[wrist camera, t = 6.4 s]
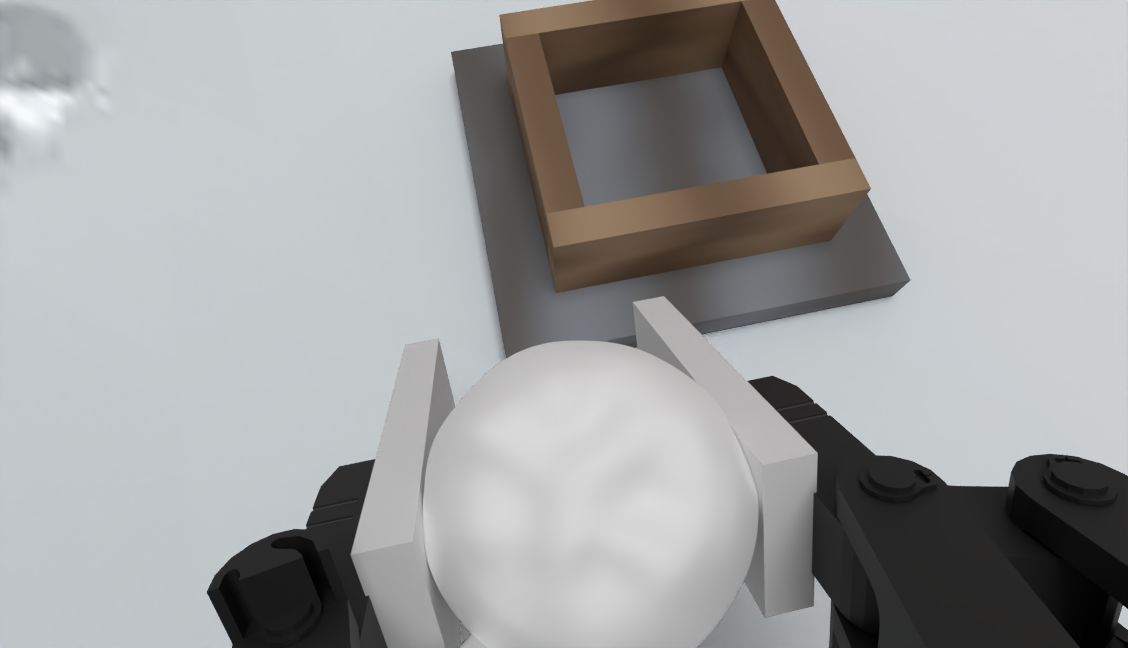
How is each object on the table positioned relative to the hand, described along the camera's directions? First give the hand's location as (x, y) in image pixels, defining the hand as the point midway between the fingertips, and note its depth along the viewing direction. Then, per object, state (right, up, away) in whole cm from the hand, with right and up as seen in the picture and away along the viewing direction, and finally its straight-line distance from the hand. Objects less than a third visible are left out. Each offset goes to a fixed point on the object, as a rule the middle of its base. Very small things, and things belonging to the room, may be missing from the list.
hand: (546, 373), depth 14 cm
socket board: (+4, +7, +10) cm, 13 cm away
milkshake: (+1, -5, +2) cm, 5 cm away
